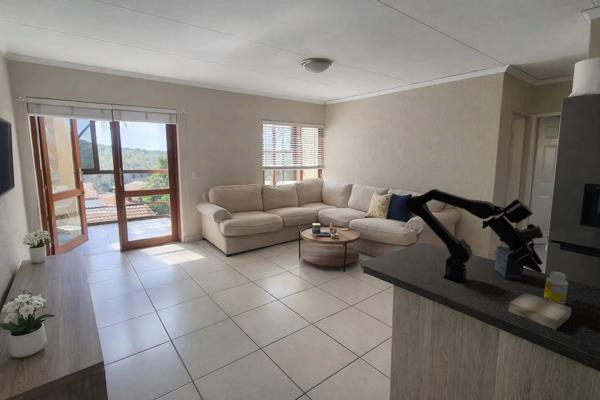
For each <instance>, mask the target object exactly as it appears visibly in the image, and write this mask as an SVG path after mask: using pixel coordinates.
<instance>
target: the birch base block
mask: <svg viewBox="0 0 600 400" xmlns="http://www.w3.org/2000/svg"><path fill="white" fill-rule="evenodd" d="M507 310H508V312H510V313H512V314H514V315H518V316H520V317H522V318H524V319H527V320H530V321H532V322H535V323H538V324H540V325H543V326H544V327H547V326H548V327H547V328H551V329H552V330H557V329H559V328H560V326H562V325H563V324H564V323H565V322H567V321H568V320H569V318H571V313H572V307H570V306H567V305H561V304H558V303H555V302H552V301H549V300H546V299H544V297H543V298H542V297H539V296H536V295H534V294H530V293H528V292H524V293H522V294H521V295H519V296H517V297H515V298H514V299H513V300H511V301H509V304H508V309H507ZM558 327H559V328H558Z"/></svg>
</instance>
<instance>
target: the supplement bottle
mask: <svg viewBox="0 0 600 400" xmlns="http://www.w3.org/2000/svg"><path fill="white" fill-rule="evenodd" d="M566 279H567V275H566V274H564V273H562V272H558V271H550V273H549V276H547V277H546V279H545V285H544V293H543V299H546V300H549V301H552V302H555V303H558V304H561V305H564V306H566V300H567V294H568V287H569V281H568V280H566Z"/></svg>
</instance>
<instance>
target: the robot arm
mask: <svg viewBox="0 0 600 400" xmlns="http://www.w3.org/2000/svg"><path fill="white" fill-rule="evenodd" d="M431 201H437V202H441V203H444V204H447V205H449V206H453V207H456V208H458V209H461V210H464V211H467V212H468V213H470V214H471V215H473V216H475V217H477V218H479V219H481V220H482V227H481V228H482V229H483V230H484V229H486V228H488V227H489V228H490V230H491V231H493V232H494V233H495V235H497V237H498V238H499V241H500V242H504V244H505V245H506V247H509V250H510V253H509V258H510V259H511V260H512V261H513V262H516V263H519V264H521V265H524V266H523V267H526V268H529V270H532V271H534V272H537V273H538V274H540V273H542V272H543V269H541V267H540V265H542V264H543V261H542V259H541V258H540V256H539V254H538V253H537V252H536V250H535V241H534V240H535V239H541V238H543V237H544V234H543V232H542V229H541V227H540V225H534V224H533V223H529V224H527V225H526V227H527V228H524V229H522V230H520V228H518V227H514V226H513V225H512V224H515V223H516V224H520V223H521V222H522V221H525V220H526V219H527V218H529V217H531V216H532V215H534V213H533V211H532V210H531V209H530V208H529V206H527V205H526V204H524V203H523V202H521V201H520V200H519V199H518V198H516V199H514V200H513V201H512V202H511V203H509V204H508V205H506V206H505V207H502V206H498V205H494V204H493V202H490V201H485V200H477V199H468V198H464V197H463V196H462V197H461V196H458V195H456V194H451V193H448V192H446V191H445V192H444V191H442V190H439V189H437V188H434V189H433V188H432V189H430V190H428V191H427V192H425V193H423V194H421V195H415V196H411V197H409V198H407V200H406V202H405V207H406V209H407V210H408V211H410V212H411V213H412V214H414V215H415V216H417V217H419V218H420V219H421V220H422V221H423V222H424V223H425V225H427V226H428V227H429V229H431V230H432V232H434V234H435V235H436V236H437V237H438V238H439V239H440V240H441V241H442V243H444V245H445V246H446V248H447V250H448V251H447V252H448V253H449V256H448V257H446V259H445V270H444V271H445V273H444V275H442V278H444V279H446V280H449V281H451V282H455V283H461V282H464V281H466V280H467V268H466V266H467V265H466V264H467V263H468V262H469V261H470V259H471V258H472V255H473V250H472V248H471V246H472V245H469V243H467V241H466V240H465V239H464V238H461V240H460V239H458V238H456V237H455V236H454V235H453V234H452V233H451V232H450V231H449V230H448V229H447V228H446V226H445V225H444V224H443V223H442V222H441V221H440V220H439V219H438V218H437V217H436V216H435V215H434V214H433V213H432V212H431V210H430V207H429V206H428V204H427V203H429V202H431Z"/></svg>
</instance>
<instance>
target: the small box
mask: <svg viewBox="0 0 600 400" xmlns="http://www.w3.org/2000/svg"><path fill="white" fill-rule="evenodd" d="M509 253H510V250H509V247H508V246H500V245H499V246H498V245H497V246H496V253H495V259H494V266H493V270H494V271H495V272H496V273H497V274H498V275H500V276H501V277H502V278H503V279H505V280H515V281H523V280H522V279H523V272H524V267H525V266H524V265H521V264H519V263H516V262H513V261H512V260H511V259H510V258H509Z"/></svg>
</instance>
